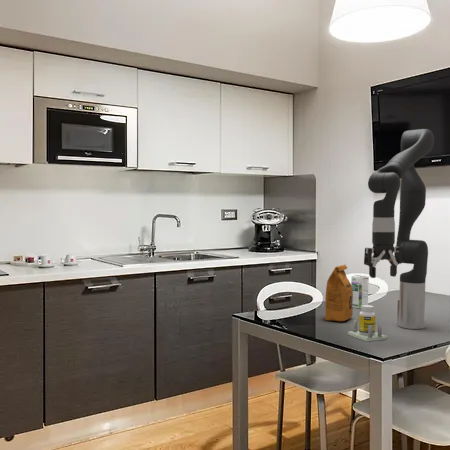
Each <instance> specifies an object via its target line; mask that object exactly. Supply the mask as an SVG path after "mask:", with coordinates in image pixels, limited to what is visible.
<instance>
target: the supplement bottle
mask: <svg viewBox="0 0 450 450" xmlns="http://www.w3.org/2000/svg"><path fill="white" fill-rule="evenodd" d="M358 319H359V320H358V331H359V333H360V334H363V335H368V325H372V326H373V329H372V335H374V334H375V332H376V313H375V312H374V306H373V305H371V304H368V305H362V309H361V311H360V312H359V317H358Z"/></svg>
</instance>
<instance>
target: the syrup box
mask: <svg viewBox="0 0 450 450" xmlns="http://www.w3.org/2000/svg"><path fill="white" fill-rule="evenodd" d="M369 277H370V275H369V276H366V275H359V274H354V275H351V280H350V281H351V282H350V284H351V286H352V290H353V302H352V308H354V309H359V310H362V305H369Z"/></svg>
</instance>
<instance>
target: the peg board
mask: <svg viewBox="0 0 450 450" xmlns="http://www.w3.org/2000/svg"><path fill="white" fill-rule="evenodd" d="M352 324H353V327H352V331H351V330H350V331H347V335H348V336H351V337H354V338H356V339H359V340H361V341H363V342H372V341H381V340H387V339H388V335H385V334H383V324H381V323H379V324H377V332H376V331H375V334H374V335H372V329H373V326H372V325H368V335H363V334H360V333H359V330H358V319H357V320H356V319H353V323H352Z"/></svg>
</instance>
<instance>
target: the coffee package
mask: <svg viewBox="0 0 450 450" xmlns="http://www.w3.org/2000/svg"><path fill="white" fill-rule="evenodd" d="M347 269H348V266H347V265H346V264H343V265H338V266H335V267H334V269H333V271H332V272H331V273H330V275H329V277H328V279H327V281H326V289H325V297H324V298H325V299H324V300H325V318H324V320H325V321H330V322H333V321H334V322H345V321H346V320H347V321H348V320H349V319H352V317H353V315H354V313H353V307H352V302H353V290H352V286H351V282H350V280H349V278H348V277H347V274H346V272H345V270H347Z"/></svg>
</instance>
